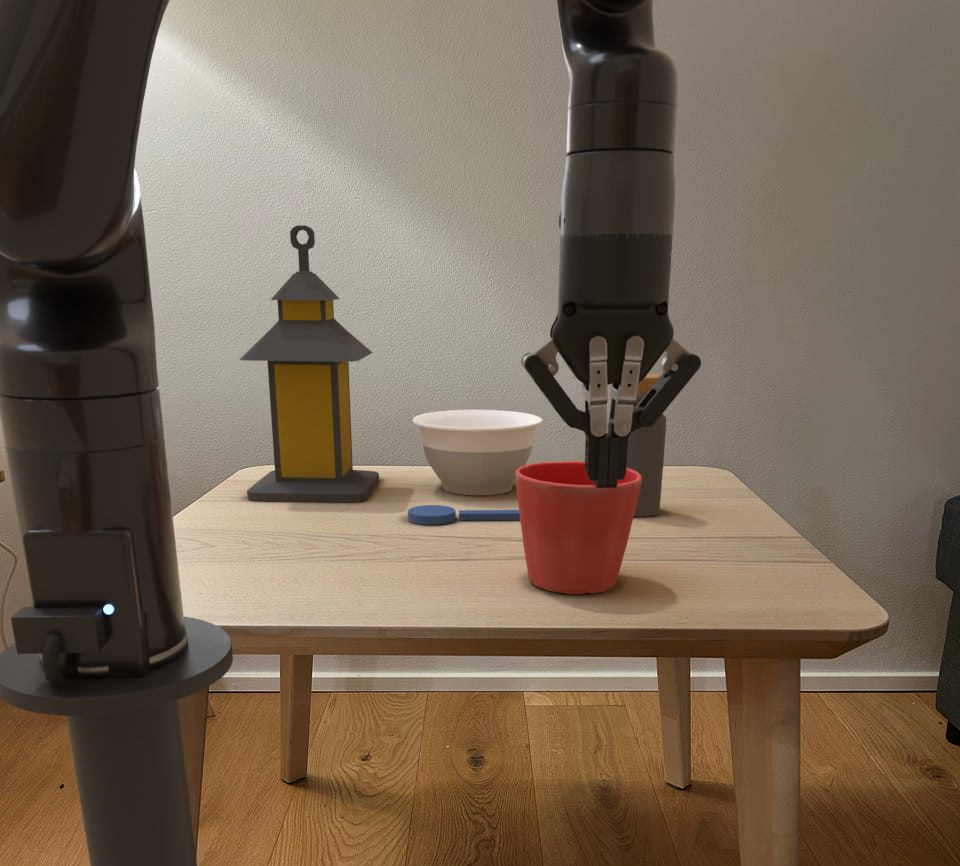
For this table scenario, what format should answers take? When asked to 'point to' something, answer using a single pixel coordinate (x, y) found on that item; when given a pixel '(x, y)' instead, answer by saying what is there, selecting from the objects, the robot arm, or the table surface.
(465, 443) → the bowl
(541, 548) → the flower pot
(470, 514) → the spoon
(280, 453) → the lantern
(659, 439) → the bottle
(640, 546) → the table surface
